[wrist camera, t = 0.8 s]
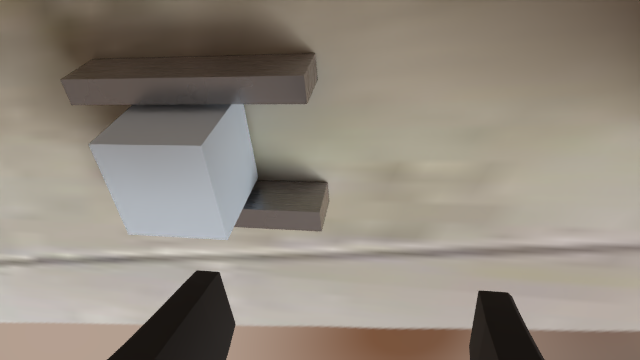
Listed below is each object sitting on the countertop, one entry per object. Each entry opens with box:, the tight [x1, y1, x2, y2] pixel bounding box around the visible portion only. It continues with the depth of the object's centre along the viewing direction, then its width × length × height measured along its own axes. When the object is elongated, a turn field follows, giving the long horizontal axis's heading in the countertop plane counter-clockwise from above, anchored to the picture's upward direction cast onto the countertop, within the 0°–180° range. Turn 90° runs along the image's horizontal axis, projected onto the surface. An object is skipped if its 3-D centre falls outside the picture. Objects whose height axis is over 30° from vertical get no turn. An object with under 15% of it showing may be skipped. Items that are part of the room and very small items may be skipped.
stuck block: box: [88, 104, 258, 240], centre depth 17 cm, size 4×4×4 cm
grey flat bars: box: [61, 54, 329, 231], centre depth 18 cm, size 9×7×2 cm
